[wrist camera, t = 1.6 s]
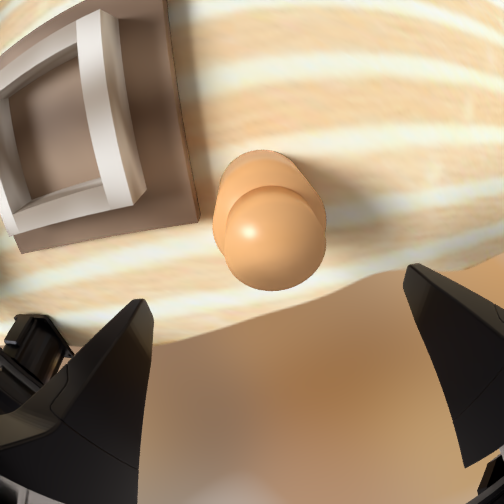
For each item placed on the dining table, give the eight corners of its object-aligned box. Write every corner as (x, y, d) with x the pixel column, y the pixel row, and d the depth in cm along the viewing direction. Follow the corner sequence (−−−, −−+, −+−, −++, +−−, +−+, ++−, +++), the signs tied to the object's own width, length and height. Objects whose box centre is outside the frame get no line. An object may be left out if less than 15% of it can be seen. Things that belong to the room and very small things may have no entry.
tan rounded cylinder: (304, 223, 18) (336, 292, 12) (226, 233, 18) (221, 307, 12) (300, 146, 15) (342, 181, 9) (212, 155, 15) (196, 197, 9)
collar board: (200, 214, 17) (192, 242, 14) (28, 246, 17) (6, 270, 14) (165, -22, 9) (148, -45, 6) (-14, 75, 9) (-44, 81, 6)
